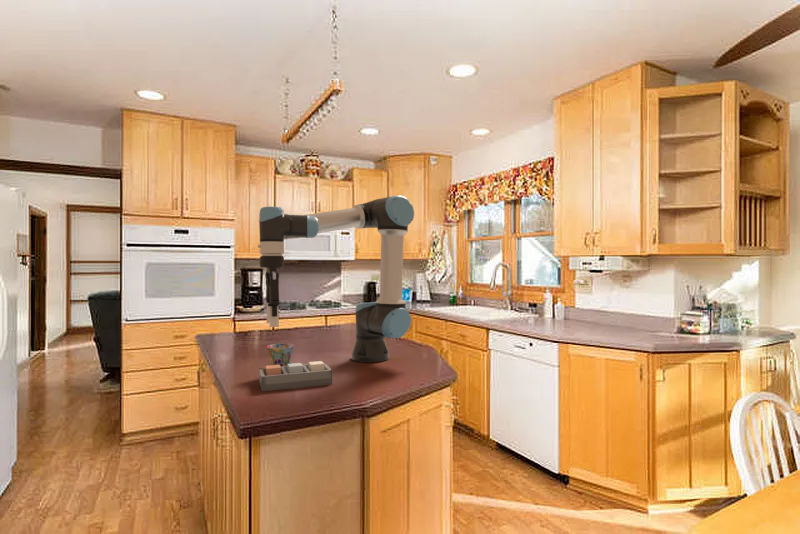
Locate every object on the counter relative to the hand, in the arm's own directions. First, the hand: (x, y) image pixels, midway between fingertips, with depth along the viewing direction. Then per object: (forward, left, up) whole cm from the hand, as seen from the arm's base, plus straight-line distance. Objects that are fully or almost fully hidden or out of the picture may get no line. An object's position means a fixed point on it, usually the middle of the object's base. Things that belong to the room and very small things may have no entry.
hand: (272, 324), depth 148 cm
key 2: (-14, 0, -16) cm, 21 cm away
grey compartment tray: (-7, 0, -20) cm, 21 cm away
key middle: (-7, 0, -16) cm, 17 cm away
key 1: (0, 0, -16) cm, 16 cm away
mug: (-4, -13, -20) cm, 24 cm away
